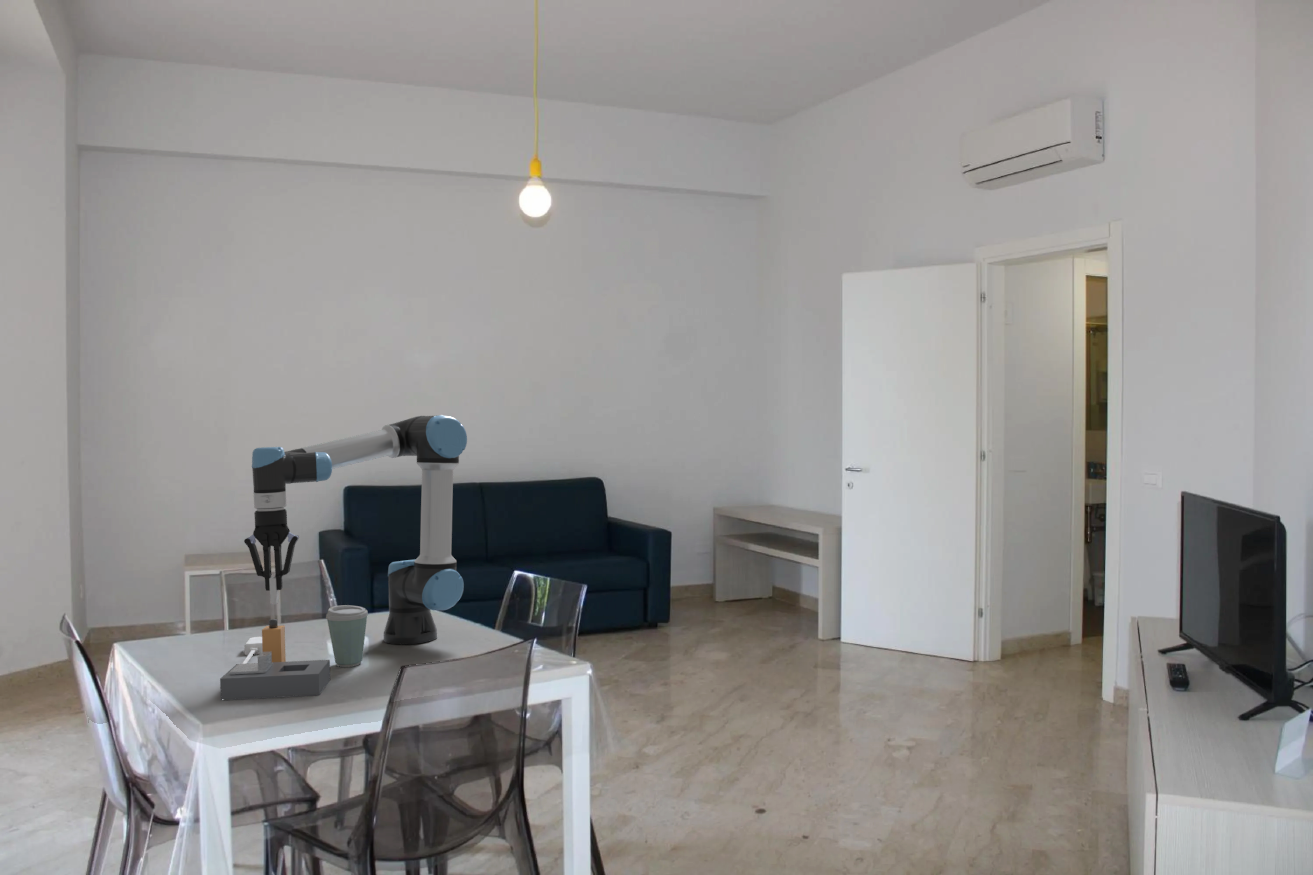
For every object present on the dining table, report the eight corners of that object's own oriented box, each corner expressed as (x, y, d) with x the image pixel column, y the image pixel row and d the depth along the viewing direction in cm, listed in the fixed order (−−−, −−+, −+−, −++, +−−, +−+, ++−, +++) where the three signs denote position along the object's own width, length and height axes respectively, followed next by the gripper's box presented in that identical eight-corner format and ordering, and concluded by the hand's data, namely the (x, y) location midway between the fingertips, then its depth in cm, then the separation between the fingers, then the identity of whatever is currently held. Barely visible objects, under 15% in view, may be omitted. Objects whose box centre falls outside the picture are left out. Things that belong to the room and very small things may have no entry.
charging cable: (228, 678, 262) (228, 665, 262) (252, 645, 294) (251, 634, 294) (249, 677, 263) (249, 664, 263) (270, 644, 295) (270, 632, 295)
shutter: (273, 664, 250) (272, 649, 250) (265, 672, 242) (264, 657, 242) (238, 666, 249) (238, 651, 249) (229, 674, 241) (229, 659, 241)
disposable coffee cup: (375, 659, 275) (373, 603, 275) (361, 669, 264) (359, 611, 264) (336, 659, 276) (334, 603, 275) (320, 669, 265) (319, 611, 265)
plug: (285, 672, 263) (284, 617, 263) (281, 676, 259) (280, 620, 259) (267, 672, 263) (266, 618, 263) (263, 677, 258) (261, 621, 258)
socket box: (330, 679, 255) (329, 659, 255) (319, 694, 241) (318, 673, 241) (237, 684, 252) (236, 663, 252) (220, 700, 238) (220, 678, 238)
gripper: (239, 511, 252) (243, 607, 253) (295, 509, 254) (299, 604, 255) (246, 508, 259) (250, 601, 260) (300, 506, 262) (304, 598, 262)
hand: (274, 603), depth 258 cm, fingers closed
